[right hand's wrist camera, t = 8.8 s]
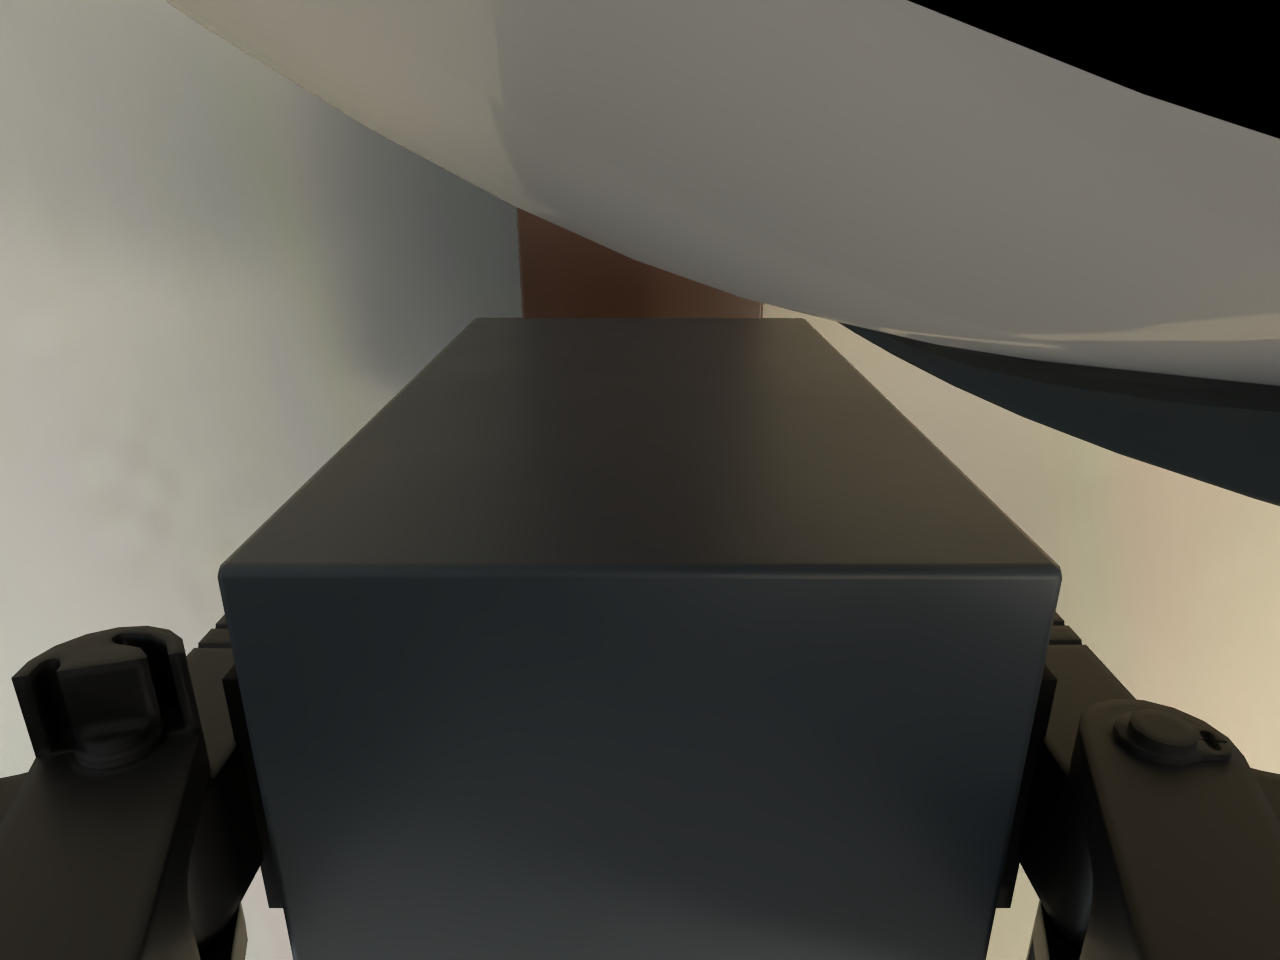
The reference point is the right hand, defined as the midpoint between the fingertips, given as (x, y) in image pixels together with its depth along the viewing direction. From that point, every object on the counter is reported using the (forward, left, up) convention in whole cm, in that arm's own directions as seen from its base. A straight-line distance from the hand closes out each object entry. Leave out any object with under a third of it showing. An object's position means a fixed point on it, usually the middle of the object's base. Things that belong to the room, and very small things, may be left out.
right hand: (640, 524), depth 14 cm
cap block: (0, 0, -2) cm, 2 cm away
